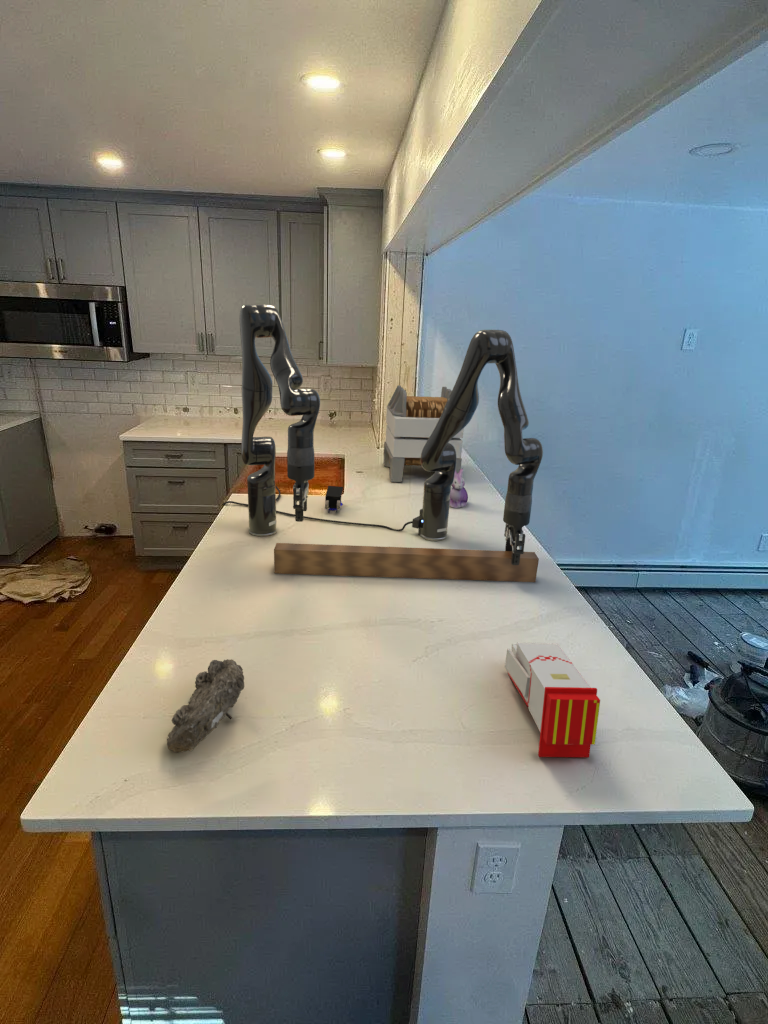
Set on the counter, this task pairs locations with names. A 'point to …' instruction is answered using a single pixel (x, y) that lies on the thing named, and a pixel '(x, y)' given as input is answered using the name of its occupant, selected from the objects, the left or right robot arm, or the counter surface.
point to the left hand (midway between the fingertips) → (301, 515)
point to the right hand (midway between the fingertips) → (511, 558)
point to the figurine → (458, 491)
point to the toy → (555, 698)
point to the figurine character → (333, 498)
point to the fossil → (206, 705)
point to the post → (403, 562)
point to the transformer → (413, 430)
